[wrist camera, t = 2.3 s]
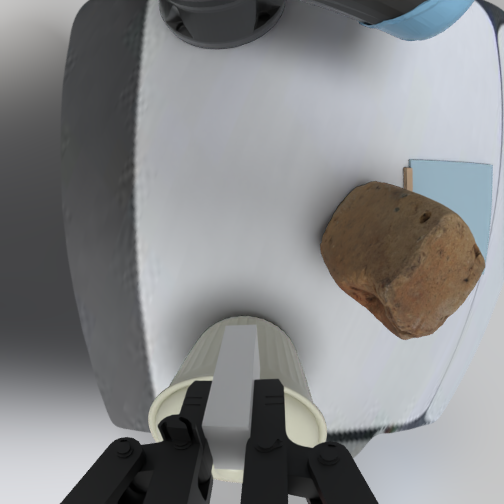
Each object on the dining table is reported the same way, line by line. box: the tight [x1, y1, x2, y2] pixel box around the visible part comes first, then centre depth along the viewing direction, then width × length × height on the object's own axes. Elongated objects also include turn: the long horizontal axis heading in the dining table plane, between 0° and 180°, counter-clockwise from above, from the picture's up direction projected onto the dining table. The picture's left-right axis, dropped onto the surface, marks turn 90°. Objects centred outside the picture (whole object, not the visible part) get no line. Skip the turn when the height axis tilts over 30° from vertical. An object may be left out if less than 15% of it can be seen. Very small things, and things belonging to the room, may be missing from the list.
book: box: [403, 160, 493, 274], centre depth 35 cm, size 16×15×1 cm
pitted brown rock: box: [320, 181, 485, 340], centre depth 27 cm, size 11×8×20 cm
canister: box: [148, 316, 327, 483], centre depth 33 cm, size 18×18×21 cm
